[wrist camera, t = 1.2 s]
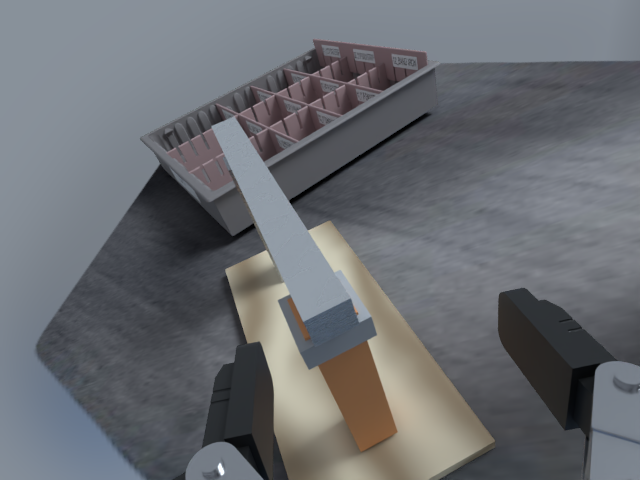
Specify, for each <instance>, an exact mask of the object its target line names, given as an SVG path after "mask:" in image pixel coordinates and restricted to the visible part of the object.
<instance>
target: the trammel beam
mask: <svg viewBox="0 0 640 480" xmlns="http://www.w3.org/2000/svg"><path fill="white" fill-rule="evenodd" d="M211 127H212V129H213V131H214V134H215V136H216V138H217V140H218V142H219V144H220V146H221V148H222V151H223V153H224V155H225V157H223V160H224V162H225V165H226V167H227V169H228V171H229V173H230V175H231V177H232V179H233V182H234V184H235V186H236V188H237V190H238V192H239V194H240V196H241V198H242V200H243V202H244V204H245V206H246V208H247V211H248V213H249V215H250V217H251V219H252V221H253V223H254V225H255V227H256V229H257V231H258V233H259V235H260V237H261V239H262V242H263V244H264V246H265V248H266V250H267V252H268V254H269V256H270V258H271V260H272V262H273V264H274V266H275V268H276V270H277V273H278V275H279V277H280V279H281V281H282V283H283V282H285V284H286V287H287V289H288V291H289V293H290V295H291V297H292V299H293V301H294V304H295V306H296V308H297V310H298V312H299V314H300V316H301V318H302V321H303V323H304V325H305V327H306V329H307V331H308V333H309V335H310V337H311V339H312V342H313V344H314V346H315V347H317V346H319V345H321V344H322V343H324V342H326V341H328V340H330V339H332V338H334V337H336V336H338V335H340V334H342V333H344V332H346V331H348V330H350V329H352V328H354V327H356V326H358V325H360V324H359V321H358V318H357V315H356V312H355V309H354V306H353V303H352V300H351V298H350V296H349V294H348V293H347V291H346V290H345V288H344V287H343V285H342V284H341V282H340V280H339V279H338V277H337V276H336V274H335V273H334V271H333V270H332V268H331V266H330V265H329V263H328V262H327V260H326V259H325V257H324V255H323V254H322V252H321V251H320V249H319V248H318V246H317V245H316V243H315V241H314V240H313V238H312V237H311V235H310V234H309V232H308V230H307V229H306V227H305V226H304V224H303V223H302V221H301V220H300V218H299V216H298V215H297V213H296V212H295V210H294V209H293V207H292V206H291V204H290V202H289V201H288V199H287V198H286V196H285V195H284V193H283V191H282V190H281V188H280V187H279V185H278V184H277V182H276V181H275V179H274V177H273V176H272V174H271V173H270V171H269V170H268V168H267V166H266V165H265V163H264V162H263V160H262V159H261V157H260V156H259V154H258V152H257V151H256V149H255V148H254V146H253V145H252V143H251V141H250V140H249V138H248V137H247V135H246V134H245V132H244V131H243V129H242V127H241V126H240V124H239V123H238V121H237V120H236V118H235V117H232V118H229V119H227V120H225V121H222V122H220V123H218V124H215V125H213V126H211Z"/></svg>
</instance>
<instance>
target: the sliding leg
mask: <svg viewBox="0 0 640 480" xmlns="http://www.w3.org/2000/svg"><path fill="white" fill-rule="evenodd" d="M335 274H336V276H337V277H338V279H339V280H340V282H341V284H342V285H343V287H344V288H345V290H346V291H347V293H348V294H349V296H350V298H351V300H352V303H353V306H354V309H355V312H356V315H357V318H358V321H359V324H360V325H358V326H356V327H354V328H352V329H350V330H348V331H346V332H344V333H342V334H340V335H338V336H336V337H334V338H332V339H330V340H328V341H326V342H324V343H322V344H321V345H319V346H317V347H315V346H314V344H313V342H312V339H311V337H310V335H309V333H308V331H307V329H306V327H305V325H304V323H303V321H302V318H301V316H300V314H299V312H298V310H297V308H296V306H295V304H294V301H293V299H292V297H291V295H290V294H289V295H287V296H285V297H283V298H281V299H279V300H278V303H279V305H280V307H281V310H282V312H283V315H284V317H285V319H286V322H287V324H288V326H289V329H290V331H291V333H292V336H293V338H294V340H295V343H296V345H297V347H298V350H299V352H300V354H301V356H302V358H303V360H304V362H305V364H306V365H307V367H308V369H309V370H310V369H312V368H314V367H316V366H318V367H319V369H320V371H321V373H322V375H323V377H324V379H325V381H326V383H327V385H328V387H329V389H330V391H331V393H332V395H333V397H334V399H335V401H336V403H337V405H338V407H339V409H340V411H341V413H342V415H343V417H344V419H345V421H346V423H347V425H348V427H349V429H350V431H351V433H352V435H353V437H354V439H355V441H356V443H357V445H358V447H359V449H360V451H361V452H362V451H364V450H366V449H368V448H370V447H372V446H373V445H375V444H377V443H379V442H381V441H382V440H384V439H386V438H388V437H390V436H392V435H393V434H395V433H397V432H398V431H397V428H396V425H395V422H394V419H393V416H392V413H391V410H390V407H389V404H388V401H387V398H386V395H385V392H384V389H383V386H382V383H381V380H380V377H379V374H378V371H377V368H376V365H375V362H374V359H373V356H372V353H371V350H370V347H369V344H368V341H367V340H369V339H371V338H373V337H374V336H376V335H377V333H376V329H375V326H374V323H373V319H372V316H371V315H370V313H369V312H368V310H367V309H366V307H365V306H364V304H363V303H362V301H361V300H360V298H359V297H358V295H357V294H356V292H355V291H354V289H353V288H352V286H351V285H350V283H349V282H348V280H347V279H346V277H345V276H344V274H343V273H342V271H341V270H339V271H337V272H335Z"/></svg>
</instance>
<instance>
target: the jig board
mask: <svg viewBox="0 0 640 480" xmlns="http://www.w3.org/2000/svg"><path fill="white" fill-rule="evenodd" d="M308 232H309V234H310V235H311V237H312V238H313V240H314V241H315V243H316V245H317V246H318V248H319V249H320V251H321V252H322V254H323V255H324V257H325V259H326V260H327V262H328V263H329V265H330V266H331V268H332V270H333V271H334V273H335V272H337V271H339V270H341V271H342V273H343V274H344V276H345V277H346V279H347V280H348V282H349V283H350V285H351V286H352V288H353V289H354V291H355V292H356V294H357V295H358V297H359V298H360V300H361V301H362V303H363V304H364V306H365V307H366V309H367V310H368V312H369V313H370V315H371V316H372V319H373V323H374V326H375V329H376V333H377V335H376V336H374V337H373V338H371V339H369V340H367V341H368V344H369V347H370V350H371V353H372V356H373V359H374V362H375V365H376V368H377V371H378V374H379V377H380V380H381V383H382V386H383V389H384V392H385V395H386V398H387V401H388V404H389V407H390V410H391V413H392V416H393V419H394V422H395V425H396V428H397V431H398V432H397V433H395V434H393V435H392V436H390V437H388V438H386V439H384V440H382V441H381V442H379V443H377V444H375V445H373V446H372V447H370V448H368V449H366V450H364V451H362V452H361V451H360V449H359V447H358V445H357V443H356V441H355V439H354V437H353V435H352V433H351V431H350V429H349V427H348V425H347V423H346V421H345V419H344V417H343V415H342V413H341V411H340V409H339V407H338V405H337V403H336V401H335V399H334V397H333V395H332V393H331V391H330V389H329V387H328V385H327V383H326V381H325V379H324V377H323V375H322V373H321V371H320V369H319V367H318V366H316V367H314V368H312V369H310V370H309V369H308V367H307V365H306V364H305V362H304V360H303V358H302V356H301V354H300V352H299V350H298V347H297V345H296V343H295V340H294V338H293V336H292V333H291V331H290V329H289V326H288V324H287V322H286V319H285V317H284V315H283V312H282V310H281V307H280V305H279V303H278V300H279V299H281V298H283V297H285V296H287V295H289V294H290V293H289V291H288V289H287V287H286V284H285V282H283V283H282V281H281V279H280V277H279V275H278V273H277V270H276V268H275V266H274V264H273V262H272V260H271V258H270V256H269V254H268V252H267V250H266V251H264V252H262V253H259V254H257V255H255V256H253V257H251V258H249V259H247V260H245V261H242V262H240V263H238V264H236V265H234V266H232V267H230V268H228V269H225V271H226V274H227V277H228V281H229V284H230V287H231V291H232V294H233V297H234V300H235V304H236V307H237V310H238V314H239V317H240V320H241V324H242V327H243V330H244V334H245V337H246V340H247V343H253V342H258V341H260V343H261V345H262V348H263V351H264V354H265V357H266V360H267V363H268V367H269V370H270V373H271V376H272V381H273V387H274V433H275V436H276V439H277V443H278V446H279V449H280V453H281V456H282V459H283V462H284V466H285V469H286V472H287V476H288V479H289V480H439V479H441V478H442V477H444V476H446V475H448V474H449V473H451V472H453V471H454V470H456V469H458V468H460V467H461V466H463V465H465V464H467V463H468V462H470V461H472V460H474V459H475V458H477V457H479V456H481V455H482V454H484V453H486V452H488V451H489V450H491V449H493V448H495V440H494V439H493V437H492V436H491V435H490V433H489V432H488V431H487V429H486V428H485V427H484V425H483V424H482V423H481V421H480V420H479V419H478V417H477V416H476V415H475V413H474V412H473V411H472V409H471V408H470V407H469V405H468V404H467V403H466V401H465V400H464V399H463V397H462V396H461V395H460V393H459V392H458V391H457V389H456V388H455V387H454V385H453V384H452V383H451V381H450V380H449V379H448V377H447V376H446V375H445V373H444V372H443V371H442V369H441V368H440V367H439V365H438V364H437V363H436V361H435V360H434V359H433V357H432V356H431V355H430V353H429V352H428V351H427V349H426V348H425V347H424V345H423V344H422V343H421V341H420V340H419V339H418V337H417V336H416V335H415V333H414V332H413V331H412V329H411V328H410V327H409V325H408V324H407V323H406V321H405V320H404V318H403V317H402V316H401V314H400V313H399V312H398V310H397V309H396V308H395V306H394V305H393V304H392V302H391V301H390V300H389V298H388V297H387V296H386V294H385V293H384V292H383V290H382V289H381V288H380V286H379V285H378V284H377V282H376V281H375V280H374V278H373V277H372V276H371V274H370V273H369V272H368V270H367V269H366V268H365V266H364V265H363V264H362V262H361V261H360V260H359V258H358V257H357V256H356V254H355V253H354V252H353V250H352V249H351V248H350V246H349V245H348V244H347V242H346V241H345V240H344V238H343V237H342V236H341V234H340V233H339V232H338V230H337V229H336V228H335V226H334V225H333V224H332V222H331V221H328V222H325V223H323V224H321V225H319V226H317V227H315V228H313V229H310V230H308Z"/></svg>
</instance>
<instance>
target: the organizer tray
mask: <svg viewBox="0 0 640 480" xmlns="http://www.w3.org/2000/svg"><path fill="white" fill-rule="evenodd" d="M313 42H314V46H315V48H313V49H311V50H309V51H308V52H305V53H304V54H302V55H300V56H298V57H296V58H294V59H292V60H290V61H288V62H286V63H284V64H282V65H280V66H279V67H277V68H274V69H272V70H270V71H269V72H267V73H265V74H263V75H261V76H259V77H257V78H255V79H253V80H251V81H249V82H247V83H245V84H243V85H241V86H239V87H237V88H235V89H234V90H232V91H230V92H228V93H226V94H224V95H222V96H220V97H218V98H216V99H214V100H212V101H210V102H208V103H206V104H204V105H203V106H200V107H198V108H197V109H195V110H193V111H191V112H189V113H187V114H185V115H183V116H181V117H179V118H177V119H175V120H173V121H171V122H169V123H167V124H165V125H163V126H162V127H160V128H158V129H156V130H154V131H152V132H150V133H148V134H146V135H144V136H142V137H141V138H140V140H141V141H142V142H143V143H144V144H145V145H146V146H147V147H149V148H150V149H151V150H152V151H153V152H154V154H155V155H156V157H157V159H158V160H159V162H160V164H161V165H162V167H163V169H164V170H165V171H166V172H167V173H168V174H170V175H171V176H172V177H173V178H174V179H175V180H176V181H177V182H178V183H179V184H180V185H181V186H182V187H183V188H184V189H185V190H186V191H187V192H188V193H189V194H190V195H191V196H192V197H193V198H194V199H195V200H196V201H197V202H198V203H199V204H200V205H201V206H202V207H203V208H204V209H205V210H206V211H207V212H208V213H209V214H210V215H211V216H212V217H213V218H214V219H215V220H216V221H217V222H218V223H219V224H220V225H221V226H222V227H224V228H225V229H226V230H227V231H228V232H229V233H230V234H231V235H232V236H234V235H236V234H237V233H239V232H240V231H242V230H244V229H245V228H247V227H248V226H250V225H251V224H253V221H252V219H251V217H250V215H249V213H248V211H247V208H246V206H245V204H244V202H243V200H242V198H241V196H240V194H239V192H238V190H237V188H236V186H235V184H234V182H233V179H232V177H231V175H230V173H229V171H228V169H227V167H226V165H225V162H224V160H223V157H225V155H224V153H223V151H222V148H221V146H220V144H219V142H218V140H217V138H216V136H215V134H214V131H213V129H212V127H211V126H213V125H215V124H218V123H220V122H222V121H225V120H227V119H229V118H232V117H235V118H236V120H237V121H238V123H239V124H240V126H241V127H242V129H243V131H244V132H245V134H246V135H247V137H248V138H249V140H250V141H251V143H252V145H253V146H254V148H255V149H256V151H257V152H258V154H259V156H260V157H261V159H262V160H263V162H264V163H265V165H266V166H267V168H268V170H269V171H270V173H271V174H272V176H273V177H274V179H275V181H276V182H277V184H278V185H279V187H280V188H281V190H282V191H283V193H284V195H285V196H286V198H287V199H288V201H289V200H290V199H292V198H293V197H295V196H297V195H298V194H300V193H301V192H303V191H304V190H306V189H307V188H309V187H311V186H312V185H314V184H315V183H317V182H318V181H320V180H322V179H323V178H325V177H326V176H328V175H329V174H331V173H332V172H334V171H336V170H337V169H339V168H340V167H342V166H343V165H345V164H346V163H348V162H350V161H351V160H353V159H354V158H356V157H357V156H359V155H361V154H362V153H364V152H365V151H367V150H368V149H370V148H371V147H373V146H375V145H376V144H378V143H379V142H381V141H382V140H384V139H385V138H387V137H389V136H390V135H392V134H393V133H395V132H396V131H398V130H400V129H401V128H403V127H404V126H406V125H407V124H409V123H410V122H412V121H414V120H415V119H417V118H418V117H420V116H421V115H423V114H424V113H426V112H428V111H429V110H431V109H432V108H434V107H435V106H437V105H438V99H437V88H436V77H435V67H437V66H438V65H440V64H441V63H440V62H437V61H429V60H427V53H426V52H425V51H416V50H407V49H398V48H390V47H381V46H372V45H363V44H355V43H346V42H338V41H329V40H321V39H313ZM325 180H326V179H325Z"/></svg>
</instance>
